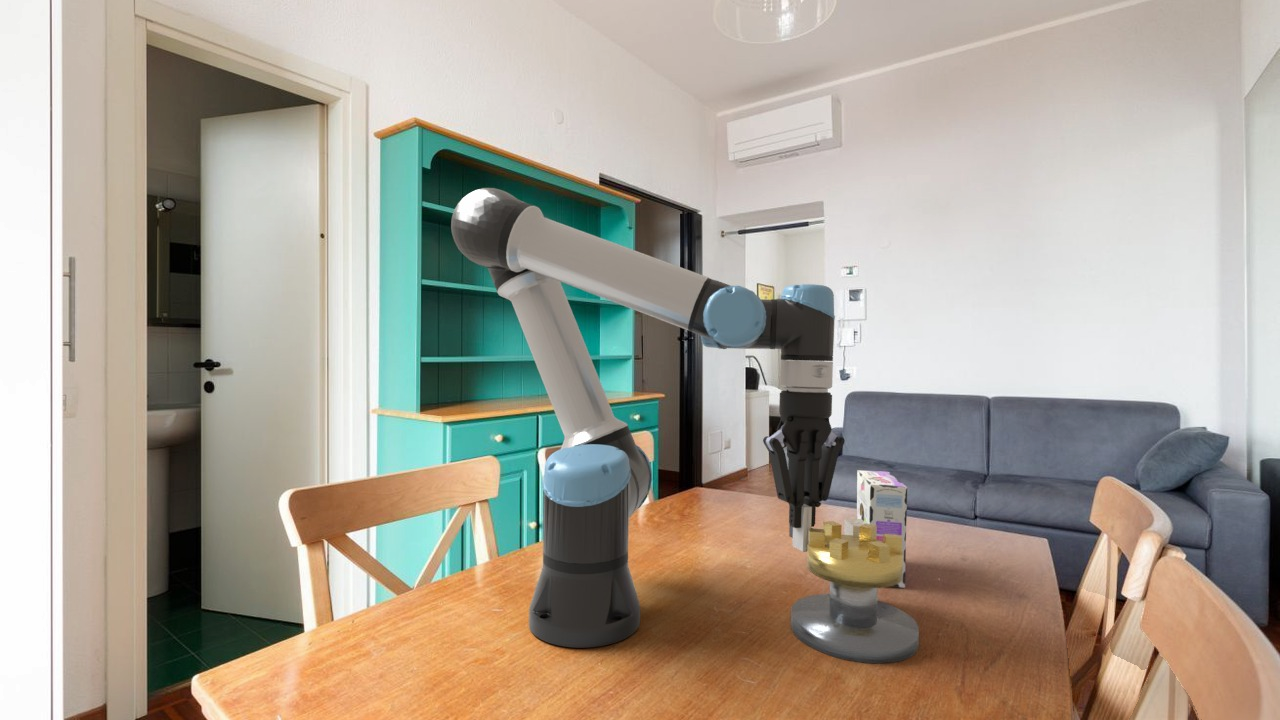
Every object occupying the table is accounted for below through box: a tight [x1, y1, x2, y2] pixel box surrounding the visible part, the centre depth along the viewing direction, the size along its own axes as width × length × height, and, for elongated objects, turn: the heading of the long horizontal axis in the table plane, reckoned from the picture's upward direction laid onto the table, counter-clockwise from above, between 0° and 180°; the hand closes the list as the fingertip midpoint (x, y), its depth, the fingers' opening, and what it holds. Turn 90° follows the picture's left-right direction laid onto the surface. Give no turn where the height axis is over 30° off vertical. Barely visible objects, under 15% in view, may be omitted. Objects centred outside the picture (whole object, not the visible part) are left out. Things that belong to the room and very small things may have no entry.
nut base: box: [790, 518, 920, 664], centre depth 81 cm, size 16×20×12 cm
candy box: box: [856, 470, 908, 589], centre depth 102 cm, size 14×6×16 cm, turn 168°
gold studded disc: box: [788, 520, 903, 589], centre depth 83 cm, size 20×12×5 cm, turn 18°
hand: (801, 548), depth 88 cm, fingers closed
